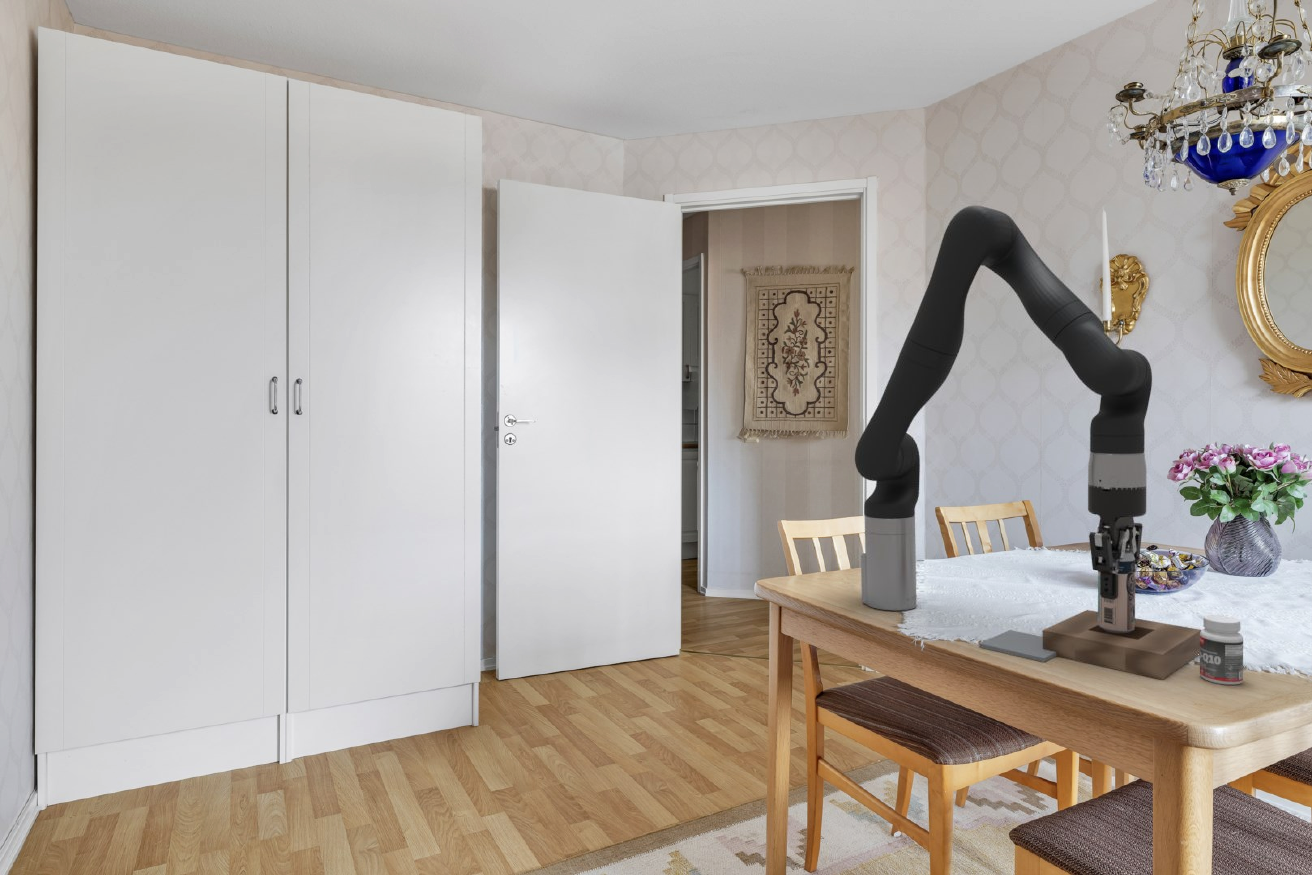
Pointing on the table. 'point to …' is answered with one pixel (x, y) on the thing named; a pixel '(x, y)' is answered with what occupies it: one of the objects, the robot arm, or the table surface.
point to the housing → (1124, 645)
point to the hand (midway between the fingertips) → (1116, 594)
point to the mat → (1019, 645)
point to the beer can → (1119, 599)
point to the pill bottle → (1221, 650)
